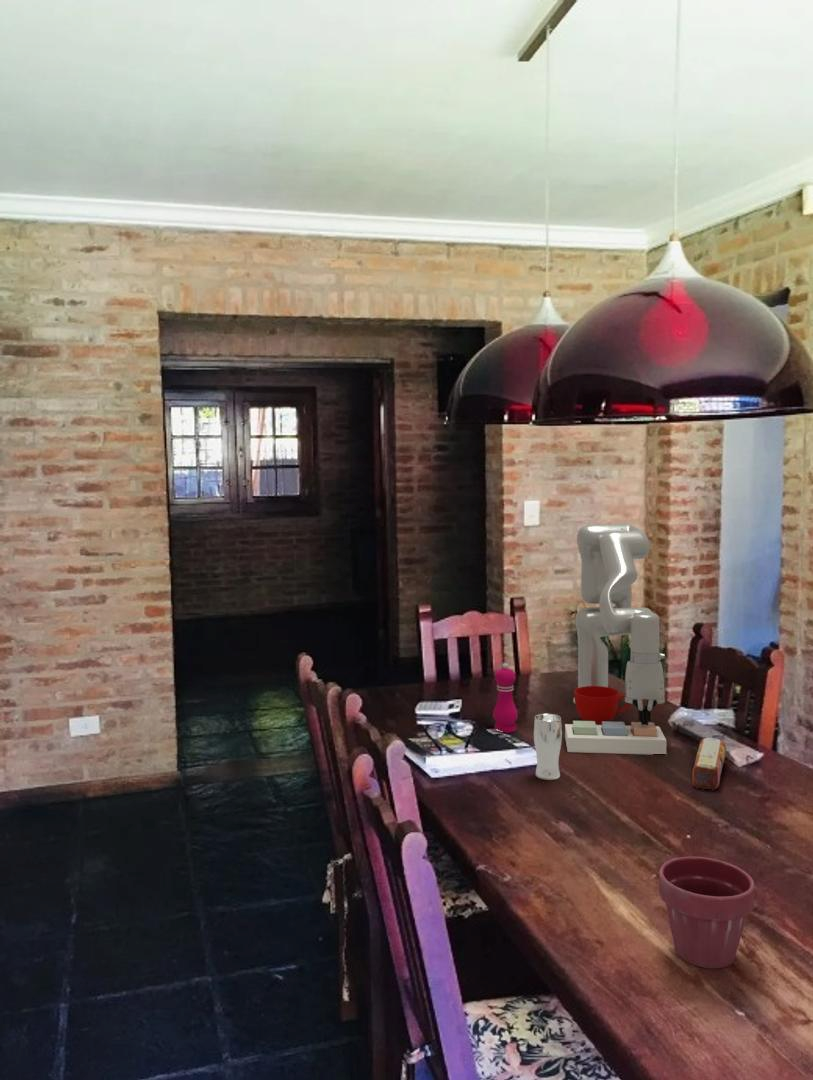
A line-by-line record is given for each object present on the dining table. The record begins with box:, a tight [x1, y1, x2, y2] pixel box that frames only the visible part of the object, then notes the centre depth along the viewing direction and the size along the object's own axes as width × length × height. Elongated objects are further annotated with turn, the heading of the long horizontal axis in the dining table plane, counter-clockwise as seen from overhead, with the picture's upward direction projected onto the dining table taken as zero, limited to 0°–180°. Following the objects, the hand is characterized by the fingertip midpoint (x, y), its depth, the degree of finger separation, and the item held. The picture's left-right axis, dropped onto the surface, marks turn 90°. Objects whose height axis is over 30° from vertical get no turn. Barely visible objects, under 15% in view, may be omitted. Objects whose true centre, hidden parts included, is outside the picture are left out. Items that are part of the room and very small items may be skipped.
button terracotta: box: [630, 721, 657, 737], centre depth 231 cm, size 6×6×2 cm
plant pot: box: [658, 856, 755, 969], centre depth 134 cm, size 14×14×13 cm
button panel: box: [564, 723, 667, 755], centre depth 232 cm, size 12×26×4 cm, turn 83°
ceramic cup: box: [574, 686, 632, 725], centre depth 252 cm, size 13×17×10 cm
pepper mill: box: [492, 662, 519, 734], centre depth 247 cm, size 7×7×20 cm
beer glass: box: [533, 713, 563, 781], centre depth 210 cm, size 7×7×15 cm
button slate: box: [602, 721, 627, 736], centre depth 232 cm, size 6×6×2 cm
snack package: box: [691, 737, 727, 791], centre depth 210 cm, size 21×7×7 cm, turn 155°
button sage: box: [572, 720, 597, 735], centre depth 233 cm, size 6×6×2 cm
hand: (644, 723), depth 230 cm, fingers closed
